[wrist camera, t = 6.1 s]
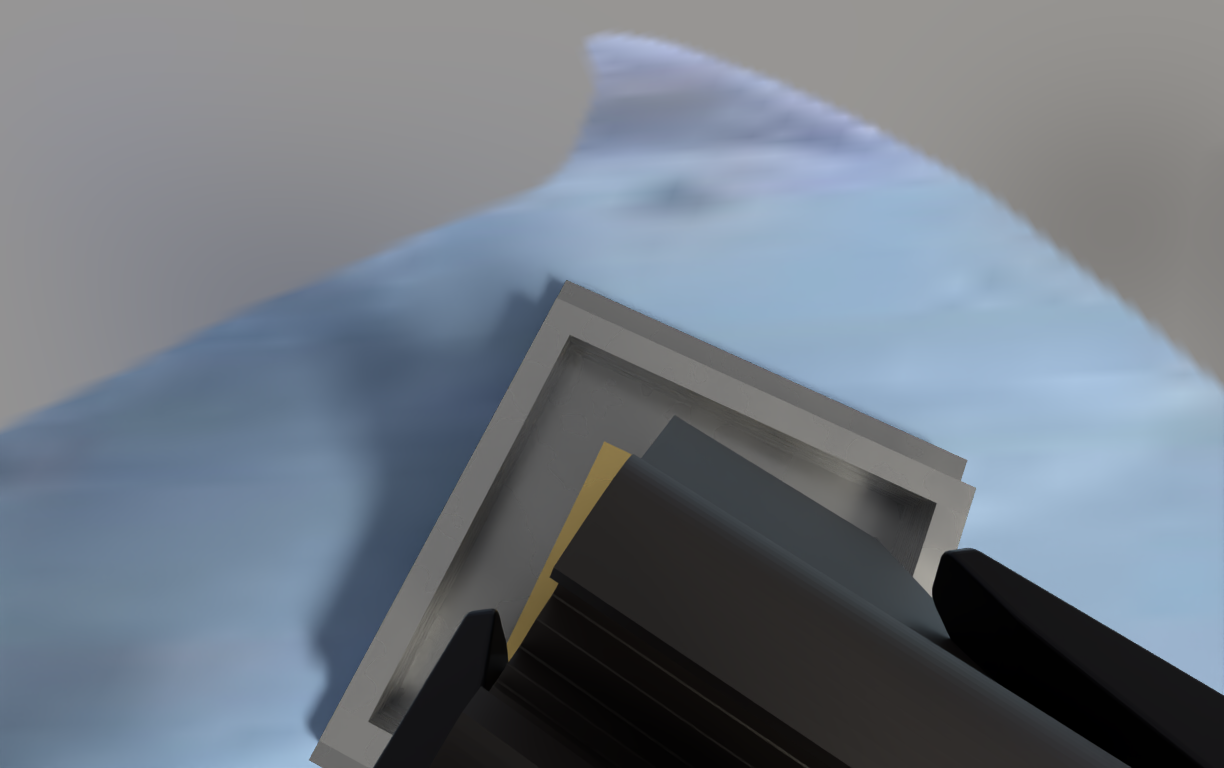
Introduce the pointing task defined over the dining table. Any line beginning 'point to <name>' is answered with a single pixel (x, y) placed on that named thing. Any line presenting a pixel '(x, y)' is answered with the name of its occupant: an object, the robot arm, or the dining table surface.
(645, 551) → the phone stand
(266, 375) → the dining table surface
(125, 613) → the dining table surface
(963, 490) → the square tray
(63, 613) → the dining table surface
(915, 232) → the dining table surface
